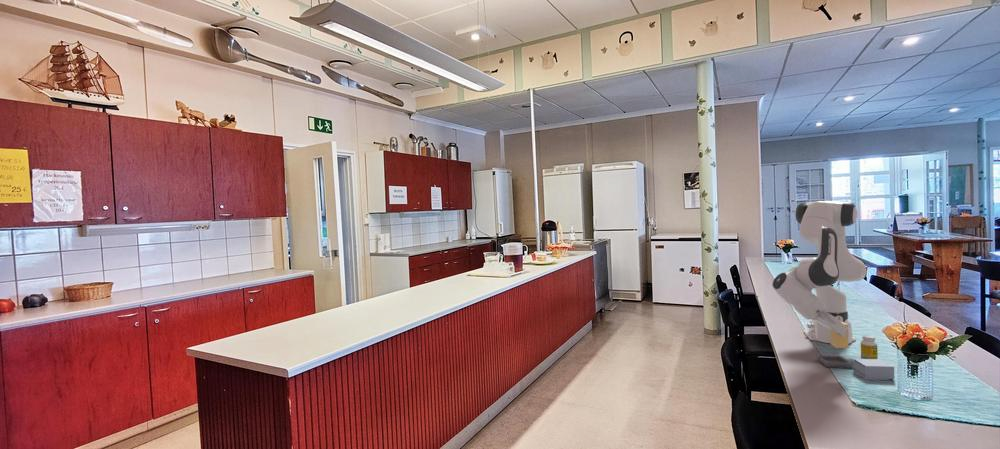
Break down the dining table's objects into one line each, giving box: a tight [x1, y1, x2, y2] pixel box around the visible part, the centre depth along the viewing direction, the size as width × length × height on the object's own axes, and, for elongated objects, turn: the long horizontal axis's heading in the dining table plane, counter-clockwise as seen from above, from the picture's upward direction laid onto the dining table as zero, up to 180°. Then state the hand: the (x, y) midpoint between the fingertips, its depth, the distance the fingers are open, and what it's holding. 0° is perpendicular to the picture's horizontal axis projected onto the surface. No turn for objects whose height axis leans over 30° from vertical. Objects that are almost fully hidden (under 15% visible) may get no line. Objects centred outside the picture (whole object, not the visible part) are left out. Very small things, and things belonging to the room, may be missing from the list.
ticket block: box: [853, 358, 895, 381], centre depth 168 cm, size 8×9×5 cm
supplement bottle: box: [860, 334, 879, 359], centre depth 185 cm, size 5×5×10 cm
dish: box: [816, 355, 853, 369], centre depth 182 cm, size 9×9×2 cm
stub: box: [830, 322, 849, 349], centre depth 170 cm, size 4×4×9 cm
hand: (841, 333), depth 170 cm, fingers closed on stub, 4 cm apart
